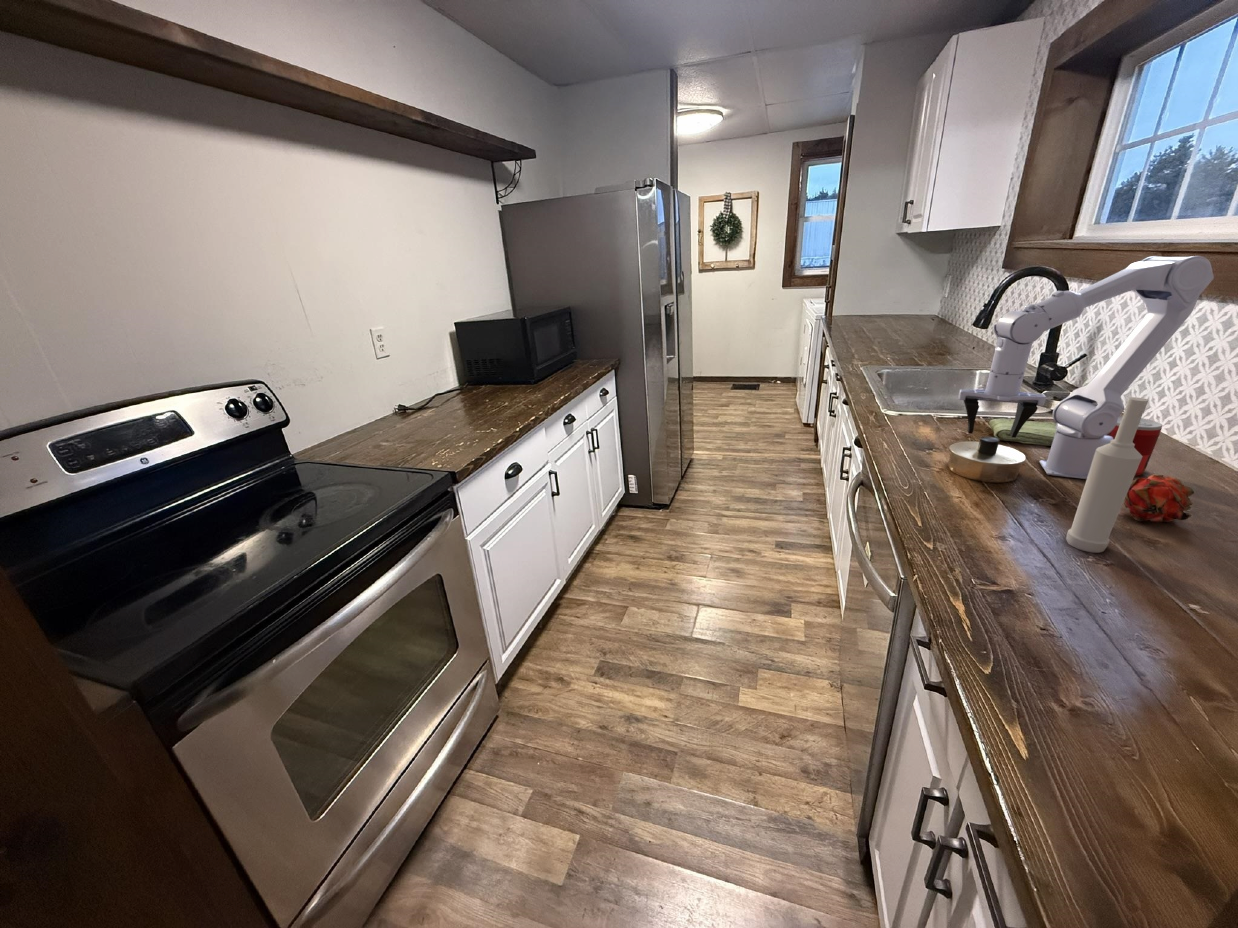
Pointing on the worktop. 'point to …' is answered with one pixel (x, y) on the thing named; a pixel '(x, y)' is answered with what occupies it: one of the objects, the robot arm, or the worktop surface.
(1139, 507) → the dragon fruit
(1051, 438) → the washcloth
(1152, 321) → the robot arm
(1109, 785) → the worktop surface
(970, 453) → the lid
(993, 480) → the pot
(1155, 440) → the canned food
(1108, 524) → the bottle
